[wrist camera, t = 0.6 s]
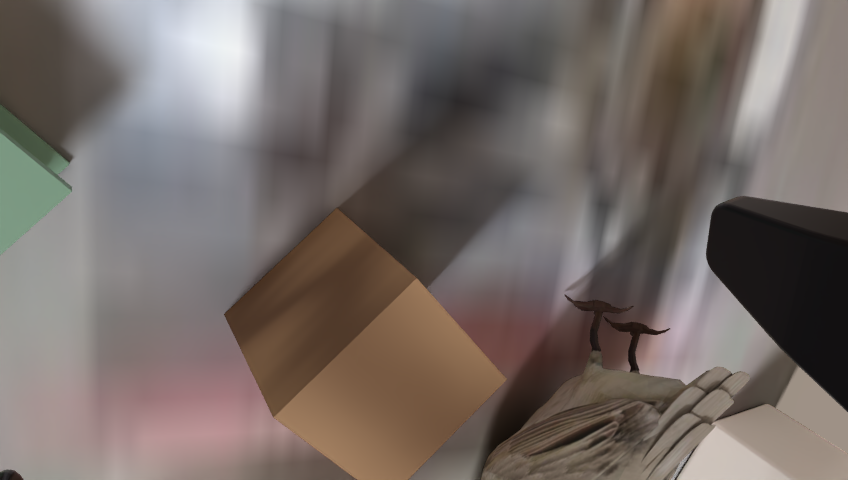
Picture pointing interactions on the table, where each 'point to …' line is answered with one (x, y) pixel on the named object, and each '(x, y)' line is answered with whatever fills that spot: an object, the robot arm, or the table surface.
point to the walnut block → (359, 354)
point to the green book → (26, 178)
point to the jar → (764, 450)
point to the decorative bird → (615, 420)
